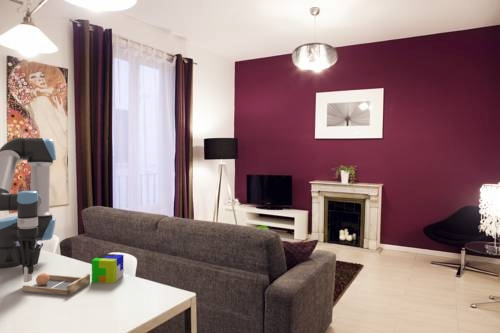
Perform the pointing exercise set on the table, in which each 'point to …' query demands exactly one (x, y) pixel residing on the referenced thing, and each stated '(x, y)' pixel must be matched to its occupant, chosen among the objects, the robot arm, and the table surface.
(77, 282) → the divided wooden tray
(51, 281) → the tray
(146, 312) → the table surface
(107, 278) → the puzzle toy
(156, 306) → the table surface
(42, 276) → the ball
